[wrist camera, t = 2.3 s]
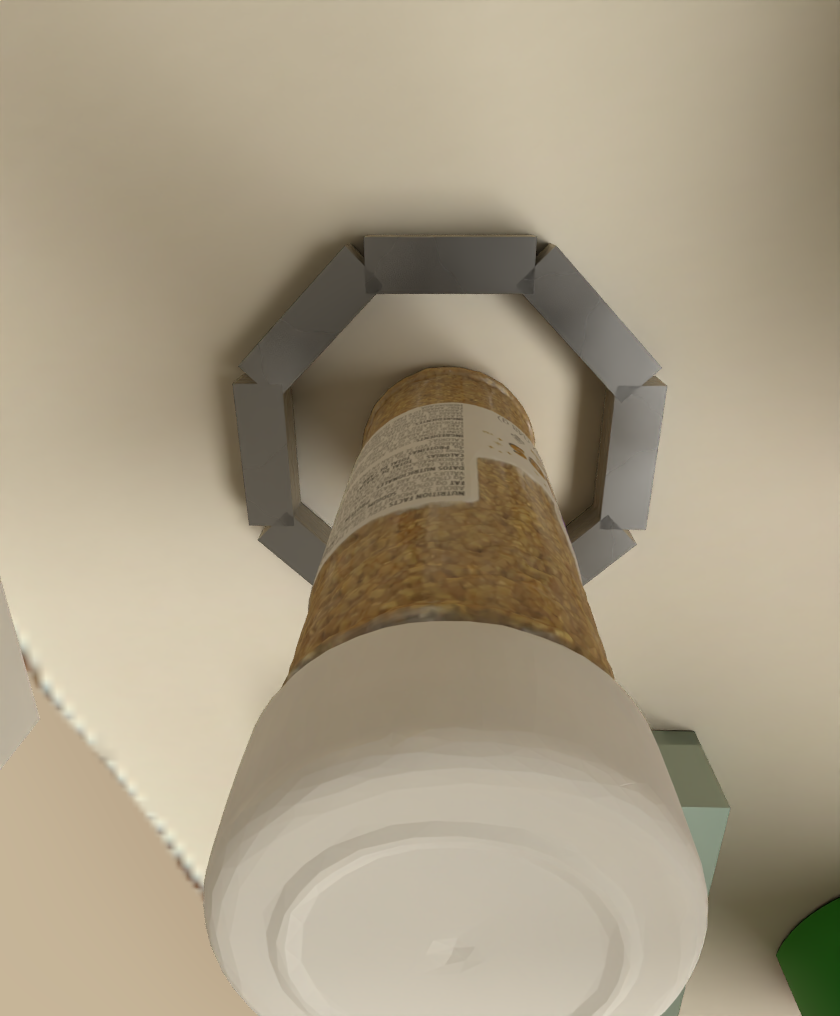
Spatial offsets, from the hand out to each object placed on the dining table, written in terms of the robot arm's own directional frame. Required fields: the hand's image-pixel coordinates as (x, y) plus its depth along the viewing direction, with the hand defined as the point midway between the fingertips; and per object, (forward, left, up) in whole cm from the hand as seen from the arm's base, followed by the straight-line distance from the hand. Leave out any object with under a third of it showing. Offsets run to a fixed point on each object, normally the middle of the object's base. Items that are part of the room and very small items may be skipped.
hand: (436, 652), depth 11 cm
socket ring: (0, 0, -9) cm, 9 cm away
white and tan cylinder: (0, 0, -9) cm, 9 cm away
